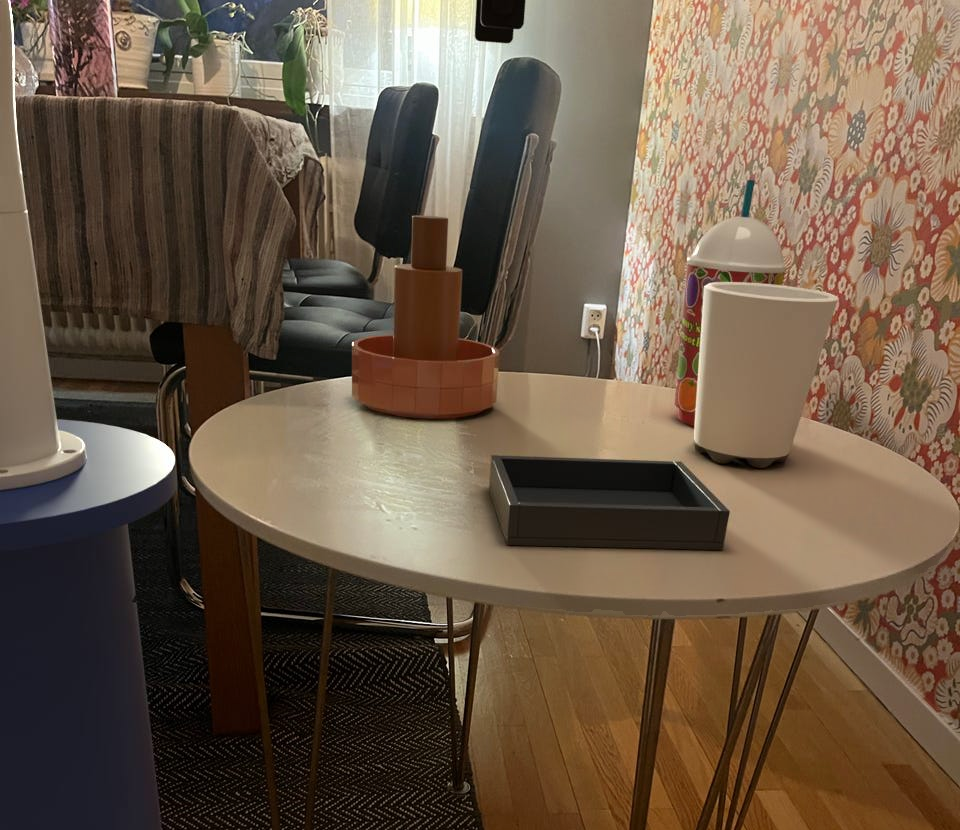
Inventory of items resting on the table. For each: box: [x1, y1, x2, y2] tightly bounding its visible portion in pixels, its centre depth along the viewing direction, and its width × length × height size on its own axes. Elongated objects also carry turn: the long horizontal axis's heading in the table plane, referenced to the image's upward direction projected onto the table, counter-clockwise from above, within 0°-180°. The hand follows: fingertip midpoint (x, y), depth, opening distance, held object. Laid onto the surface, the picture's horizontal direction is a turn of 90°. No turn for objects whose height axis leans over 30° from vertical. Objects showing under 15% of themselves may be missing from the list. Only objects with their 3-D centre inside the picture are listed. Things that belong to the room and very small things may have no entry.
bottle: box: [392, 215, 463, 361], centre depth 83 cm, size 6×6×15 cm
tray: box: [488, 454, 731, 551], centre depth 60 cm, size 13×10×2 cm
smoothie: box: [674, 179, 788, 427], centre depth 82 cm, size 8×8×20 cm
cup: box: [693, 282, 839, 469], centre depth 74 cm, size 10×10×13 cm
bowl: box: [351, 334, 501, 420], centre depth 85 cm, size 13×13×5 cm
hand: (497, 35), depth 75 cm, fingers open, 9 cm apart
